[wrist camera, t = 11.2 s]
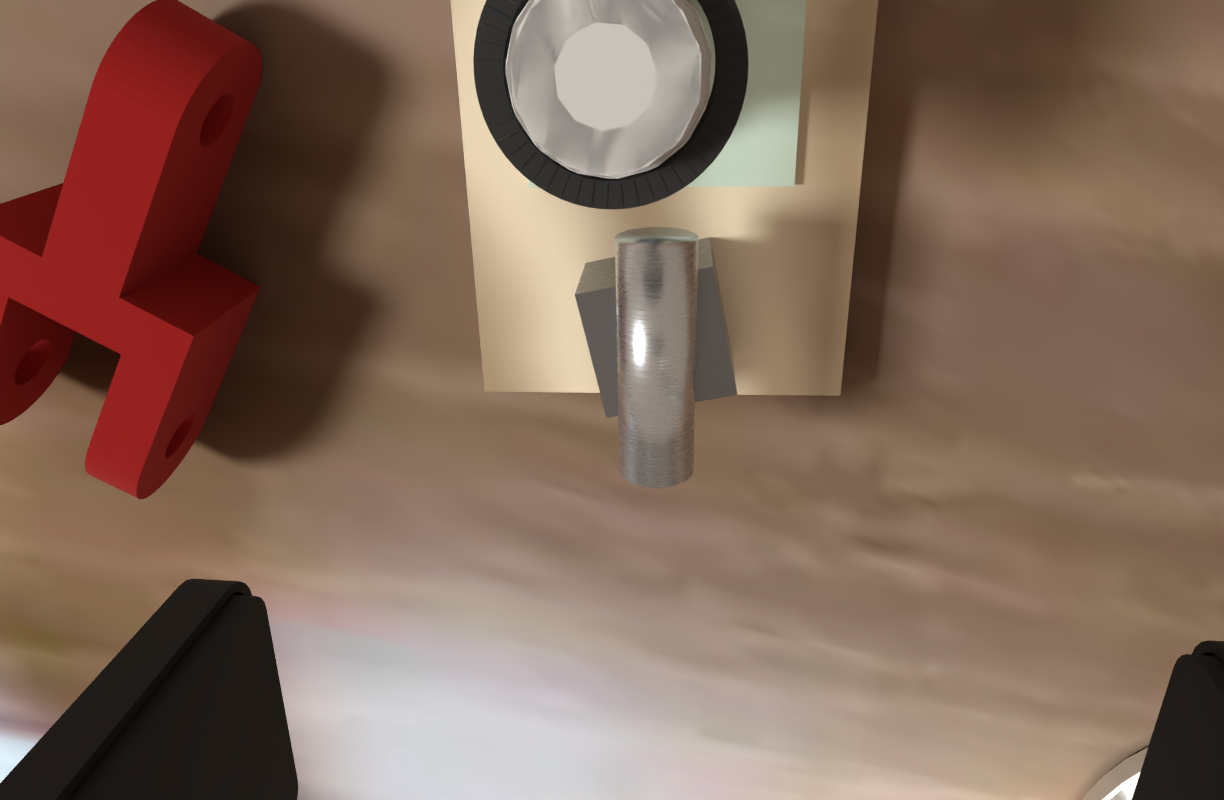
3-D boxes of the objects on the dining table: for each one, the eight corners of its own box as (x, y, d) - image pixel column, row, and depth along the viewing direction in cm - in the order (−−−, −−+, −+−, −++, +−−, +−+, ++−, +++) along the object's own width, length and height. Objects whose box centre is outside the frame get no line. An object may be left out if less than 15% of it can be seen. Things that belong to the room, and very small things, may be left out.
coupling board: (919, -556, 21) (939, -601, 20) (833, 377, 31) (841, 399, 30) (419, -525, 22) (398, -565, 21) (492, 374, 32) (482, 394, 31)
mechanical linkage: (193, 454, 35) (120, 525, 30) (14, 365, 34) (-89, 425, 29) (349, 78, 29) (286, 97, 24) (135, -47, 27) (27, -52, 23)
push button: (568, -140, 24) (497, -212, 15) (764, -92, 24) (812, -135, 15) (525, 116, 27) (444, 187, 18) (700, 157, 27) (709, 248, 18)
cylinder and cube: (770, -613, 20) (798, -805, 15) (730, 407, 30) (738, 489, 26) (557, -598, 20) (517, -781, 15) (590, 405, 31) (572, 486, 26)
